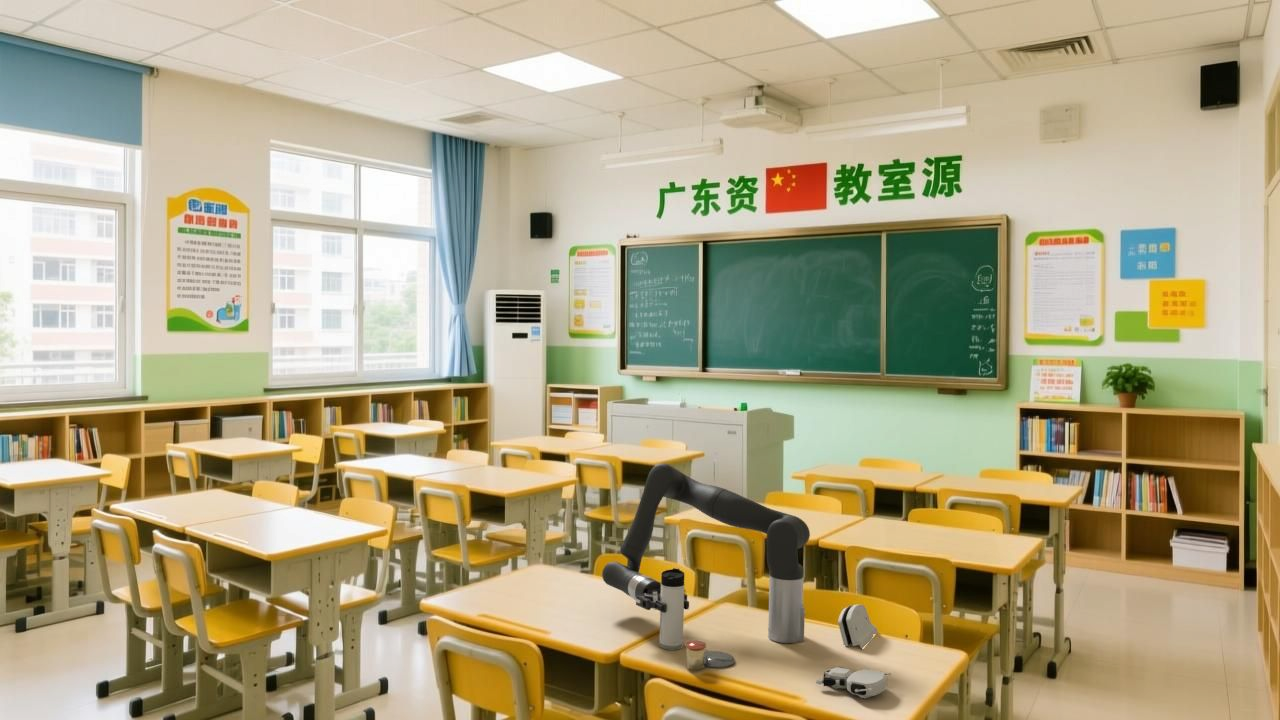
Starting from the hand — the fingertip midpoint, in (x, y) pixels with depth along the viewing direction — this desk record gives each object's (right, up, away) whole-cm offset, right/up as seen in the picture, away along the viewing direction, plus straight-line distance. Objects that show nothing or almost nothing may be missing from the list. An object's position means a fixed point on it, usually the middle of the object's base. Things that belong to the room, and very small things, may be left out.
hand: (676, 607), depth 230 cm
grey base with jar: (+8, -11, -10) cm, 17 cm away
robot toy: (+41, -13, -25) cm, 49 cm away
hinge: (+50, -12, +11) cm, 53 cm away
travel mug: (-1, -11, +2) cm, 11 cm away
